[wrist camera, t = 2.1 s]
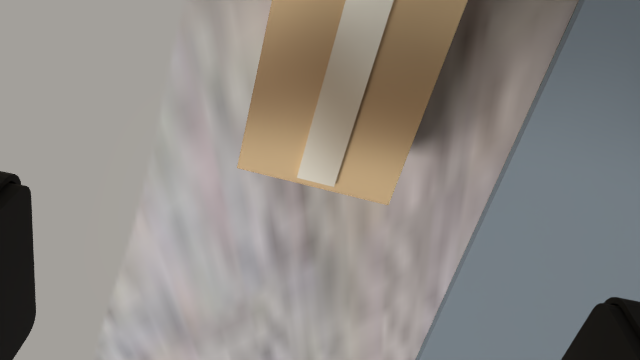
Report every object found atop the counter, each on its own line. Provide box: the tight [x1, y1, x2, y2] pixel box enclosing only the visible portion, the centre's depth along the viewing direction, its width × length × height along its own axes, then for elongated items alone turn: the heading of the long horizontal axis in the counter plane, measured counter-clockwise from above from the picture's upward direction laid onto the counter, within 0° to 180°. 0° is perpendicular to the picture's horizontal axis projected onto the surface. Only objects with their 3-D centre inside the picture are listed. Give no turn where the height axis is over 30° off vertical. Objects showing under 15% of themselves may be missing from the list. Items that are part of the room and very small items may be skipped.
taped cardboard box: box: [237, 0, 468, 205], centre depth 18 cm, size 7×5×4 cm
